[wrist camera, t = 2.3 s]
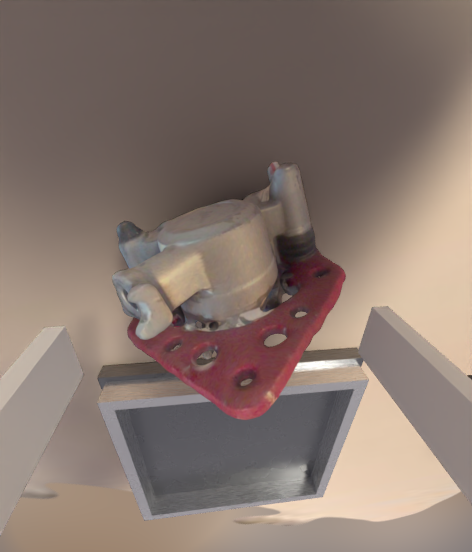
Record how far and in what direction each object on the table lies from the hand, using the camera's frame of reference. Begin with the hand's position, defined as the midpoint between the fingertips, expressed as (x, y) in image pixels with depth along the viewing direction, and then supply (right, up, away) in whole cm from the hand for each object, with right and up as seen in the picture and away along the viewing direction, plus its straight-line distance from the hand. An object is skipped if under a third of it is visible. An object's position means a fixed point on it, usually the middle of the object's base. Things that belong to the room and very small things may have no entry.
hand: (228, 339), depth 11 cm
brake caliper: (0, +4, +6) cm, 8 cm away
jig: (0, -14, +16) cm, 21 cm away
